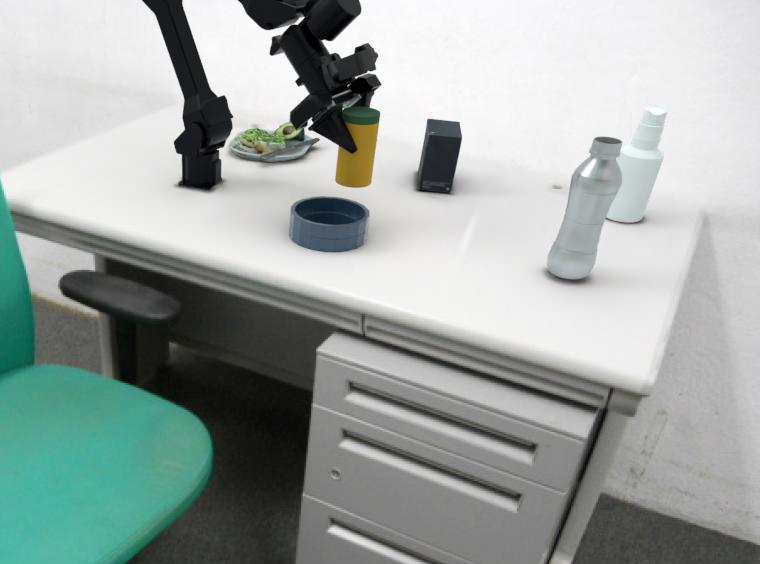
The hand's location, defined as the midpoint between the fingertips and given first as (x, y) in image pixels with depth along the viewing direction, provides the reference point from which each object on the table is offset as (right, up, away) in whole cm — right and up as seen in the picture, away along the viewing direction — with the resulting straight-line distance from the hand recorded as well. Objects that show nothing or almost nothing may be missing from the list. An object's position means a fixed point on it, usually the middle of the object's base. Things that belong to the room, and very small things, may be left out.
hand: (364, 147), depth 121 cm
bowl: (-5, -14, +4) cm, 15 cm away
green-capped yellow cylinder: (-1, -4, +4) cm, 6 cm away
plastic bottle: (+29, -21, -5) cm, 37 cm away
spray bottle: (+48, -7, +14) cm, 50 cm away
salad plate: (-12, +13, +41) cm, 45 cm away
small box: (+18, +2, +26) cm, 32 cm away
